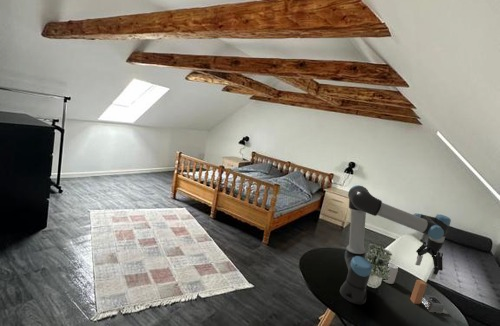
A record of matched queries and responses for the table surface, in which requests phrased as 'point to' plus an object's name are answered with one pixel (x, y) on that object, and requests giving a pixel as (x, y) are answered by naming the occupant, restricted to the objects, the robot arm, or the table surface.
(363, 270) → the robot arm
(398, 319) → the table surface
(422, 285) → the orange square peg
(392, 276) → the beverage can
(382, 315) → the table surface
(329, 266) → the table surface
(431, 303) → the grey square socket
